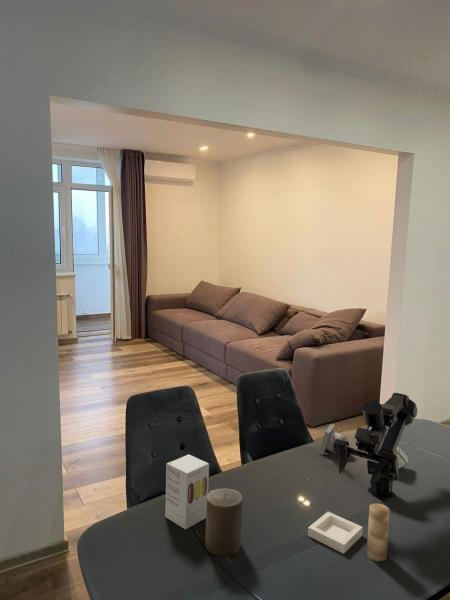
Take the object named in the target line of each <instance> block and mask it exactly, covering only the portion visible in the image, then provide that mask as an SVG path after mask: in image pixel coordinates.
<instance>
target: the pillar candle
mask: <svg viewBox="0 0 450 600" xmlns="http://www.w3.org/2000/svg"><path fill="white" fill-rule="evenodd" d="M242 518H243V496H242V494H241V493H240V492H239V491H238V490H235V489H230V488H216V489H211V490H210V491H209V492H208V495H207V509H206V518H205V537H204V538H205V539H204V541H205V542H204V543H205V544H204V545H205V548H206V550H207V551H208V552H209V553H210V554H211V555H214V556H217V557H227V558H228V557H231V556H233V555H235V554H237V553H238V552H240V550H241V548H242V524H243V523H242V521H243V520H242Z"/></svg>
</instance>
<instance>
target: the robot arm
mask: <svg viewBox="0 0 450 600" xmlns="http://www.w3.org/2000/svg"><path fill="white" fill-rule="evenodd" d="M391 395H392V396H391V397H389V398H388V400H386V401H385V402H384V403H381V402H380V401H381V400H380V399H375V398H373V399H372V400H370V401H367V402H365V403H364V404H363V405H362V414H363V418H364V419H363V420H364V424H365V425H366V426H367V427H366V428H365V427H364V428H363V427H361V426H360V427H357V428H356V431H355V434H354V439H356V441H355V445H356V447H357V448H356V447H354V446H350V443H349V441H348V440H347V441H345V440H341V439H336V440H335V441H334V443H333V447H334V451H335V453H334V455H335V456H336V457H337V458H338V459H339V460H340V462H338V464H339V465H338V473H339V474H342V473H343V472H344V470H345V468H346V465H347V464H348V462H349V460H348V459H350V456H351V455H352V456H356V457H359V458H361V459H364V460H367V461H366V466H367V468H366V469H367V474H368V475H371V478H370V481H369V483H370V487H368V488H367V491H368V492H369V493H371V494H373V496H376V497H377V498H378V499H380V500H384V499H388V498H392V497H395V496H396V492H394V491H393V483H394V482H395V481H398V480H399V479H398V478H399V470H400V469H399V464H398V457H397V456H396V455H395V454H394V453H395V451H396V448H397V446H399V442H400V440H401V437H402V435H403V434H404V431H405V429H406V426H409V425H410V424H412V423H413V421H414V420H415V418H417V416H418V407H417V403H416V402H414V401H413V400H412V399H410V398H409V395H407V394H404V393H400V392H393V393H392V394H391ZM387 427H388V429H387ZM386 432H387V433H386ZM385 434H386V435H385ZM383 439H384V440H383ZM382 441H383V443H382ZM381 444H382V445H381ZM380 446H381V447H380ZM398 469H399V470H398Z"/></svg>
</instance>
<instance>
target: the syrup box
mask: <svg viewBox="0 0 450 600" xmlns="http://www.w3.org/2000/svg"><path fill="white" fill-rule="evenodd" d="M386 433H387V432H386ZM385 435H386V434H385ZM383 440H384V439H383ZM382 443H383V441H382ZM381 445H382V444H381ZM380 447H381V446H380ZM394 454H395V455H396V456H397V457H398V464H399V469H398V471H399V470H400V469H402V468H404V467H405V466H407V465H408V464H409V458H408V456H407V454H406V453H405V452H404V451H403V450H402V449H401V447H399V445H398V446H397V448H396V451H395V453H394Z"/></svg>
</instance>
